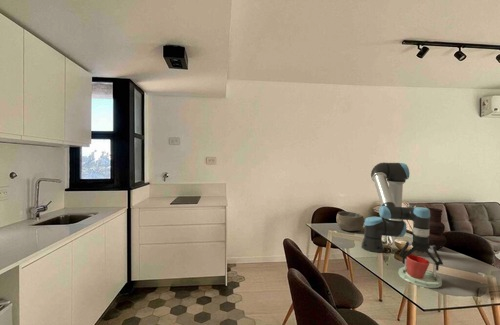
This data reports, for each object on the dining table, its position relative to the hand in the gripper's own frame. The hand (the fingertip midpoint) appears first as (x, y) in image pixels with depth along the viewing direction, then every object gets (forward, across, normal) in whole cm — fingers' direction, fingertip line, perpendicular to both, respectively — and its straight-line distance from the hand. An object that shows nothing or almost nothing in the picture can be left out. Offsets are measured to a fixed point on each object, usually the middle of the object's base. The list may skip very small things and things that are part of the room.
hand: (419, 272), depth 136 cm
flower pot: (+2, -2, 0) cm, 3 cm away
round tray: (+3, 0, 0) cm, 3 cm away
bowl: (+4, -48, +77) cm, 91 cm away
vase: (+4, +14, +64) cm, 66 cm away
